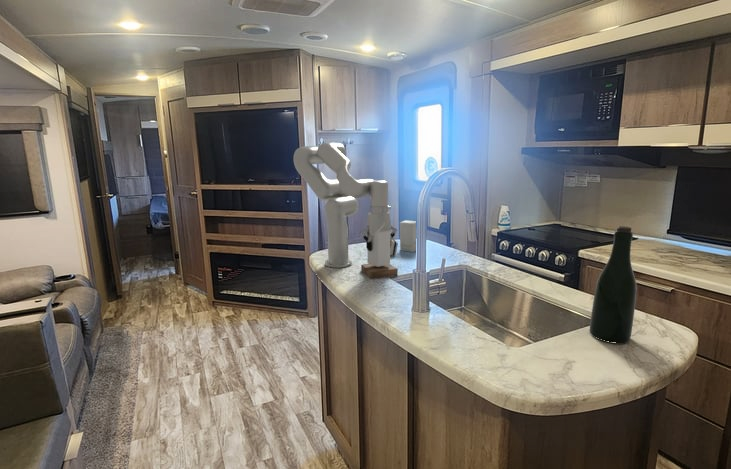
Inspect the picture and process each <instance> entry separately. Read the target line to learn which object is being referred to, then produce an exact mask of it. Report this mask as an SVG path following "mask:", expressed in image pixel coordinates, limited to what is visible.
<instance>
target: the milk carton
mask: <svg viewBox="0 0 731 469" xmlns="http://www.w3.org/2000/svg"><path fill="white" fill-rule="evenodd" d="M384 226H385V222H383V225H382V226H381V227H380V228H379V229H378V230H377V231H375V234H374V237H373V238H372V239H371V241H370V242H371V243H372V247H371V251H369V250H367V264H371V265H374V266H377V267H379V266H383V265H387V264H391V255H390V233H392V230H391V231H390V230H387V231H381V229H382V228H383V227H384ZM385 227H386V226H385ZM386 228H387V227H386ZM387 229H388V228H387ZM368 234H370V233H369V231H368Z"/></svg>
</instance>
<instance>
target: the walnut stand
mask: <svg viewBox="0 0 731 469" xmlns="http://www.w3.org/2000/svg"><path fill="white" fill-rule="evenodd" d="M360 270H361V272H362V273H363V274H365V275H366V276H367V277H369V278H371V280H375V279H381V278H383V279H384V278H388V277H389V278H390V277H395V276H399V275H398V274H399V271H398V268H397V267H396V266H394V265H392V264H391V263H390V264H387V265H383V266H379V267H377V266H374V265H371V264H369V263H364V264H363V263H362V264H361V269H360Z"/></svg>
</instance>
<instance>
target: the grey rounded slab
mask: <svg viewBox="0 0 731 469" xmlns="http://www.w3.org/2000/svg"><path fill="white" fill-rule="evenodd" d="M398 245H399V243H398V241H397V240H395V238H392V240H391V248H390V256H394V257H396V256H397V251H398Z"/></svg>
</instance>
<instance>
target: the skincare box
mask: <svg viewBox="0 0 731 469" xmlns="http://www.w3.org/2000/svg"><path fill="white" fill-rule="evenodd" d="M399 243H400V244H399V250H400V251H405V252H409V253H415V252H416V220H415V221H414V220H408V219H407V220H402V221H400V222H399Z"/></svg>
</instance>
